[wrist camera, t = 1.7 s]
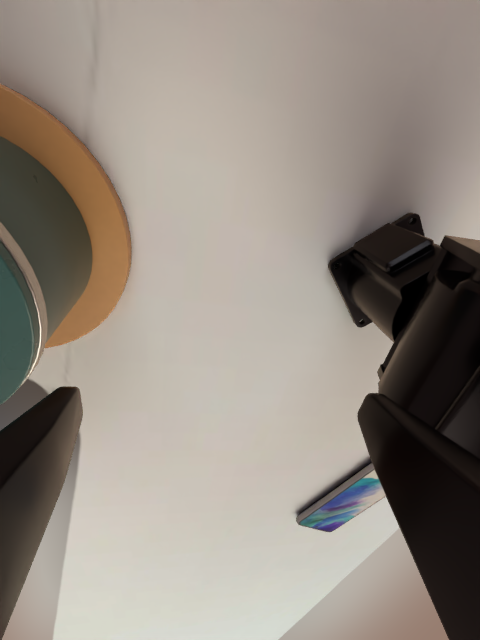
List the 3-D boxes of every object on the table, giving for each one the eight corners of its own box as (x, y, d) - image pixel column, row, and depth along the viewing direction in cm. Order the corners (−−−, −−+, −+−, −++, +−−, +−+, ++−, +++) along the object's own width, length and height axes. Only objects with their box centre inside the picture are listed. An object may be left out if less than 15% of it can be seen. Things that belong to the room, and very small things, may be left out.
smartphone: (419, 474, 36) (330, 533, 40) (414, 468, 36) (328, 526, 41) (386, 458, 32) (294, 524, 37) (382, 451, 33) (292, 517, 38)
